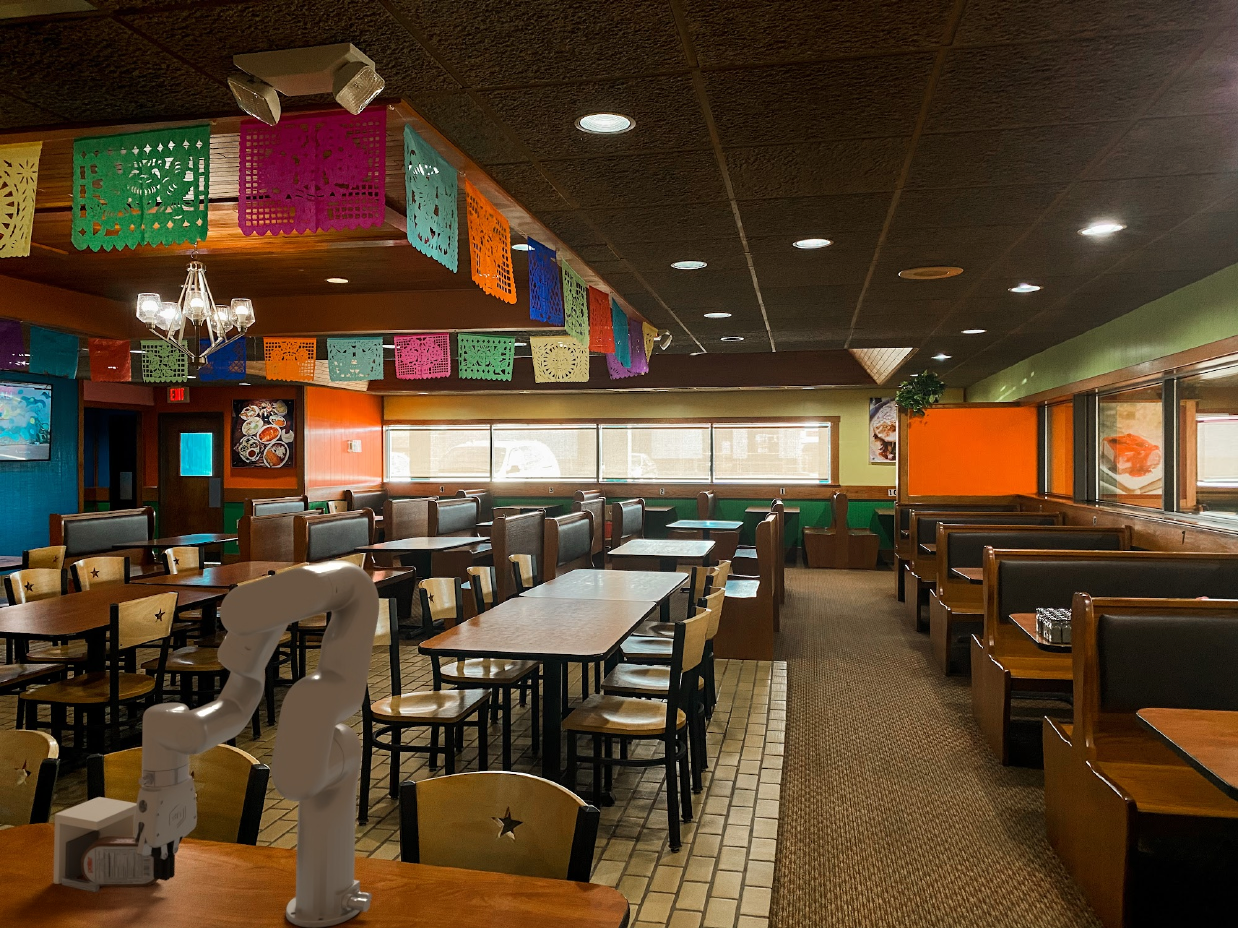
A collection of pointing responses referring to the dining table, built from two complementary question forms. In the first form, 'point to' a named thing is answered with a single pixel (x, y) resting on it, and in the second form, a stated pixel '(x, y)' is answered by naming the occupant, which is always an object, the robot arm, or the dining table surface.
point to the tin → (117, 863)
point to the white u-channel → (87, 835)
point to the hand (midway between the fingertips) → (164, 877)
